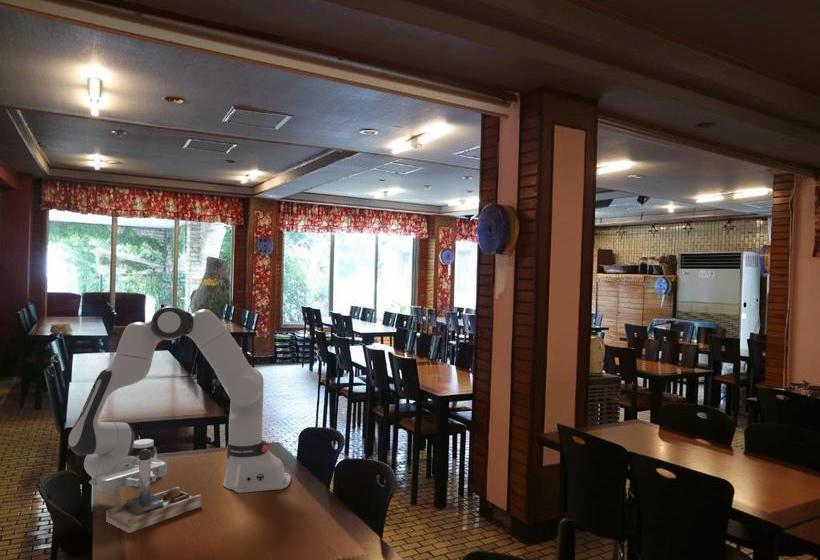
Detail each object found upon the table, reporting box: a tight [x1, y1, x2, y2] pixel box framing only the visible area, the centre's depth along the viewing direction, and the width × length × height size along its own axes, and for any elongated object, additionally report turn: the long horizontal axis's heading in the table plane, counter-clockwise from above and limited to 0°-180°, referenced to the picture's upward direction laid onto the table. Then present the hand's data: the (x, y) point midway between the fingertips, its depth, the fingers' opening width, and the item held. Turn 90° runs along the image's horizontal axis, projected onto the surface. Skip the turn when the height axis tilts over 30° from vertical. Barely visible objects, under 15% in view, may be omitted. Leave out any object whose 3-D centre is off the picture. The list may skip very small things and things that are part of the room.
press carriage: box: [125, 449, 163, 515], centre depth 170 cm, size 7×9×18 cm
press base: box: [105, 486, 202, 534], centre depth 173 cm, size 23×12×4 cm, turn 146°
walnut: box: [167, 487, 181, 501], centre depth 178 cm, size 4×4×4 cm
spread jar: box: [129, 438, 158, 459], centre depth 206 cm, size 12×11×12 cm
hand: (146, 481), depth 169 cm, fingers closed on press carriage, 3 cm apart
